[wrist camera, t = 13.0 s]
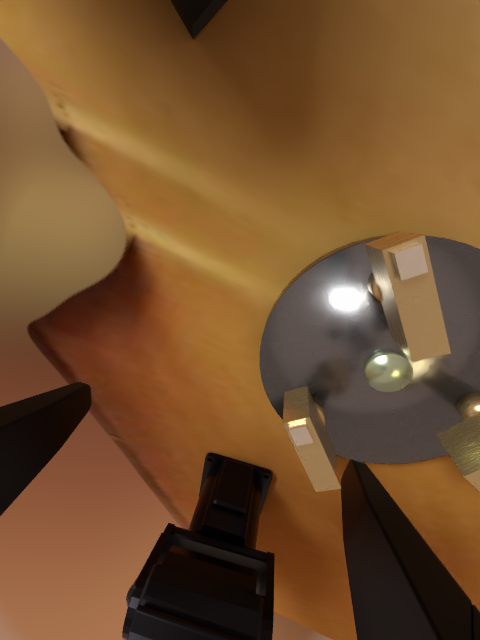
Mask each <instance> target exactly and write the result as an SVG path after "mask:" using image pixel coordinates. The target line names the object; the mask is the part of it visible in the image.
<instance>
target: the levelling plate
mask: <svg viewBox="0 0 480 640" xmlns="http://www.w3.org/2000/svg"><path fill="white" fill-rule="evenodd" d="M385 236H388V235H385ZM385 236H378V237H371V238H368V239H364V240H360V241H356V242H353V243H350V244H348V245H345V246H342V247H340V248H337V249H335V250H333V251H331V252H329V253H328V254H326V255H324V256H322V257H320V258H319V259H317V260H316V261H314V262H313V263H312V264H310V265H309V266H307V267H306V268H305V269H303V270H302V271H301V272H300V273H299V274H298V275H297V276H296V277H295V278H294V279H293V280H292V281H291V282H290V283H289V284H288V285H287V287H286V288H285V289H284V290H283V291H282V293H281V294H280V296H279V297H278V299H277V301H276V302H275V304H274V306H273V308H272V310H271V312H270V314H269V316H268V319H267V322H266V326H265V329H264V333H263V336H262V341H261V347H260V371H261V378H262V382H263V385H264V388H265V391H266V394H267V396H268V398H269V400H270V402H271V404H272V405H273V407H274V409H275V410H276V412H277V413H278V415H279V416H280V417H281V418H282V419H283V409H284V392H286V391H290V390H294V389H298V388H302V387H305V386H307V387H308V389H309V391H310V394H311V396H312V397H315V398H317V399H319V400H320V401H321V403H322V405H323V410H324V417H325V425H324V426H325V428H326V430H327V433H328V435H329V437H330V440H331V442H332V444H333V446H334V449H335V453H336V455H338V456H341V457H344V458H348V459H354V460H357V461H362V462H370V463H382V464H399V463H411V462H419V461H425V460H429V459H433V458H438V457H441V456H444V455H447V454H448V452H447V451H446V449H445V448H444V446H443V445H442V443H441V442H440V440H439V438H438V437H437V434H439V433H440V432H442V431H444V430H446V429H448V428H450V427H452V426H454V425H456V424H457V423H459V422H461V421H463V420H464V419H463V418H462V416H461V415H460V414H459V413H458V412H457V410H456V408H455V402H456V400H457V399H458V398H459V397H460V396H461V395H463V394H465V393H467V392H472V391H478V392H480V249H478V248H475V247H473V246H470V245H468V244H465V243H461V242H457V241H453V240H450V239H446V238H439V237H431V236H425V239H426V243H427V248H428V252H429V257H430V261H431V266H432V270H433V275H434V279H435V284H436V288H437V293H438V297H439V302H440V306H441V311H442V315H443V320H444V324H445V329H446V333H447V338H448V342H449V347H450V351H451V354H446V355H442V356H438V357H434V358H430V359H426V360H421V361H417V362H413V363H412V362H411V360H410V359H409V358H408V357H407V355H406V354H405V353H404V352H403V351H402V349H401V348H400V347H399V346H398V344H397V343H396V342H395V341H394V340H393V338H392V337H391V334H390V331H389V327H388V324H387V320H386V317H385V313H384V310H383V306H382V303H381V302H380V301H379V300H378V299H377V298H376V297H375V296H374V295H373V294H372V293H371V292H370V291H369V289H368V286H367V281H368V278H369V276H370V274H371V273H372V272H373V271H372V268H371V264H370V261H369V257H368V254H367V250H366V247H365V244H367V243H370V242H372V241H375V240H377V239H380V238H383V237H385Z"/></svg>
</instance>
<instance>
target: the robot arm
mask: <svg viewBox="0 0 480 640" xmlns="http://www.w3.org/2000/svg"><path fill="white" fill-rule="evenodd" d="M91 403H92V402H91V387H90V386H89V385H88V384H85V383H81V382H76V383H73V384H70V385H67V386H64V387H61V388H58V389H55V390H51V391H49V392H45V393H42V394H39V395H36V396H33V397H29V398H26V399H24V400H20V401H17V402H14V403H11V404H8V405H5V406H2V407H0V516H1V515H2V514H3V513H4V511H5V510H6V509H7V508H8V507H9V506H10V505H11V504H12V503H13V501H14V500H15V499H16V498H17V497H18V496H19V495H20V494H21V492H22V491H23V490H24V489H25V488H26V487H27V486H28V484H29V483H30V482H31V481H32V480H33V479H34V478H35V477H36V476H37V474H38V473H39V472H40V471H41V470H42V469H43V468H44V467H45V465H46V464H47V463H48V462H49V461H50V460H51V459H52V457H53V456H54V455H55V454H56V453H57V452H58V451H59V450H60V448H61V447H62V446H63V444H64V443H65V442H66V441H67V439H68V438H69V436H70V435H71V434H72V432H73V431H74V430H75V428H76V427H77V426H78V424H79V423H80V422H81V420H82V419H83V418H84V416H85V415H86V413H87V412H88V411H89V409H90V407H91ZM271 479H272V472H271V471H270V470H268V469H264V468H261V467H258V466H254V465H251V464H248V463H244V462H241V461H238V460H234V459H231V458H228V457H224V456H221V455H218V454H214V453H208V454H207V455H206V458H205V463H204V469H203V475H202V481H201V487H200V493H199V500H198V503H197V506H196V509H195V512H194V515H193V518H192V521H191V524H190V527H189V530H186V529H183V528H179V527H176V526H175V525H174V524H171V523H168V525H167V527H166V529H165V530H164V532H163V533H161V535H160V537H159V539H158V541H157V543H156V545H155V547H154V548H153V550H152V552H151V554H150V556H149V558H148V559H147V561H146V563H145V565H144V567H143V569H142V571H141V572H140V574H139V576H138V578H137V579H136V580H135V582H134V584H133V585H132V586H131V588H130V589H129V591H128V594H127V597H126V600H127V606H128V609H127V614H126V617H125V622H124V626H123V632H122V633H123V634H122V637H123V639H124V640H272V633H273V609H274V553H271V552H267V553H265V552H262V551H258V550H255V549H256V540H257V532H258V524H259V516H260V514H261V511H262V507H263V504H264V501H265V498H266V495H267V492H268V489H269V485H270V482H271ZM341 499H342V522H343V540H344V548H345V556H346V563H347V570H348V577H349V584H350V591H351V598H352V605H353V612H354V619H355V626H356V633H357V640H480V612H479V610H478V609H477V608H476V606H475V605H472V603H471V600H470V599H469V597H468V596H467V595H466V594H465V592H464V591H463V590H462V588H461V587H460V586H459V584H458V583H457V582H456V581H455V579H454V578H453V577H452V575H451V574H450V573H449V571H448V570H447V569H446V568H445V566H444V565H443V564H442V562H441V561H440V560H439V558H438V557H437V556H436V555H435V553H434V552H433V551H432V549H431V548H430V547H429V545H428V544H427V543H426V542H425V540H424V539H423V538H422V536H421V535H420V534H419V532H418V531H417V530H416V529H415V527H414V526H413V525H412V523H411V522H410V521H409V519H408V518H407V517H406V516H405V514H404V513H403V512H402V510H401V509H400V508H399V507H398V505H397V504H396V503H395V501H394V500H393V499H392V497H391V496H390V495H389V494H388V492H387V491H386V490H385V488H384V487H383V486H382V484H381V483H380V482H379V481H378V479H377V478H376V477H375V475H374V474H373V473H372V471H371V470H370V469H369V468H368V466H367V465H366V464H365V463H364V462H361V461H357V460H354V459H351V460H350V461H349V462H348V464H347V467H346V469H345V471H344V473H343V475H342V479H341Z"/></svg>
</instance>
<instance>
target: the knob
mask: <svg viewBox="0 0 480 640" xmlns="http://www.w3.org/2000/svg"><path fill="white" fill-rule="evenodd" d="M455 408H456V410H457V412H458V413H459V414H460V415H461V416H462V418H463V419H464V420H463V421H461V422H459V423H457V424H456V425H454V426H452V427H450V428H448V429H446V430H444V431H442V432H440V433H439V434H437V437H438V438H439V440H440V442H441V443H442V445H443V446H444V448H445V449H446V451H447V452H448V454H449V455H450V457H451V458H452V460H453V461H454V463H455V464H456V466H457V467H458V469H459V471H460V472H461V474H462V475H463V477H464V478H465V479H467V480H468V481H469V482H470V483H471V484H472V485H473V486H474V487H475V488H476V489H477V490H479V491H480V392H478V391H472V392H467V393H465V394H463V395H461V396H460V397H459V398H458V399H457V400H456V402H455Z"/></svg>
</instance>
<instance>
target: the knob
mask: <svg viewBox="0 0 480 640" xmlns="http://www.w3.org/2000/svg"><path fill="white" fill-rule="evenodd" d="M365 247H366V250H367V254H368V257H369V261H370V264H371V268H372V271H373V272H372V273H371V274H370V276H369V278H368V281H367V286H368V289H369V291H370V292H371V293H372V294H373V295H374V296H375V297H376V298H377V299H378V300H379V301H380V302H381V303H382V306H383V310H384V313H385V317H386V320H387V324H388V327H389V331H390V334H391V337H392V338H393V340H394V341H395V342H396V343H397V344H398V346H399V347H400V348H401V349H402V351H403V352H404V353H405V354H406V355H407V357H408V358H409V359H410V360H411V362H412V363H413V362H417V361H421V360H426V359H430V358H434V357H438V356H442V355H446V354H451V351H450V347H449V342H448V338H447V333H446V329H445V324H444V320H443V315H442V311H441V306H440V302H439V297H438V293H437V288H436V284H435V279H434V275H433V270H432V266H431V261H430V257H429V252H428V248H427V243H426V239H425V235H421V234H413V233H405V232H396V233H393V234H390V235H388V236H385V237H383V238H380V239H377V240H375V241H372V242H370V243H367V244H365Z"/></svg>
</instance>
